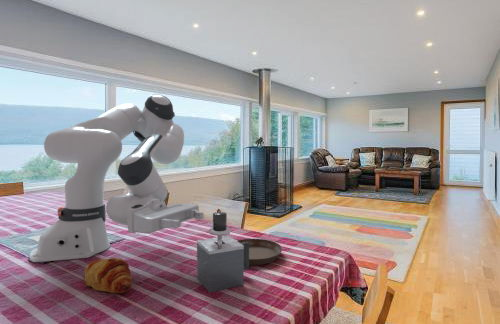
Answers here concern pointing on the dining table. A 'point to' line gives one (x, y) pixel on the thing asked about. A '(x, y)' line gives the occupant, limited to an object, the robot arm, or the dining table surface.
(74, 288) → the dining table surface
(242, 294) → the dining table surface
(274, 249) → the plant saucer
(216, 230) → the plunger
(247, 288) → the dining table surface
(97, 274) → the croissant
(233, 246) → the matte gray cube
